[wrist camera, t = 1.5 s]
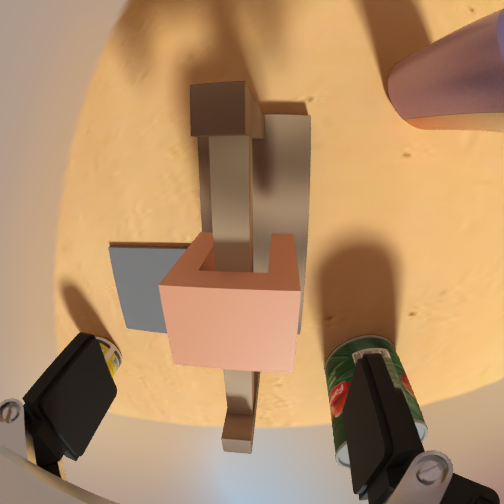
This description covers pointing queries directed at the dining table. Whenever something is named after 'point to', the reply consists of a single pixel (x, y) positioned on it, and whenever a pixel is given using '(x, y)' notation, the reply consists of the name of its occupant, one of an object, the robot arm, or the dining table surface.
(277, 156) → the stand
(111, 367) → the supplement bottle
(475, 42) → the beverage can
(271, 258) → the c link
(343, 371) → the canned tomato
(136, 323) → the mat
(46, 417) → the robot arm
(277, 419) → the dining table surface
